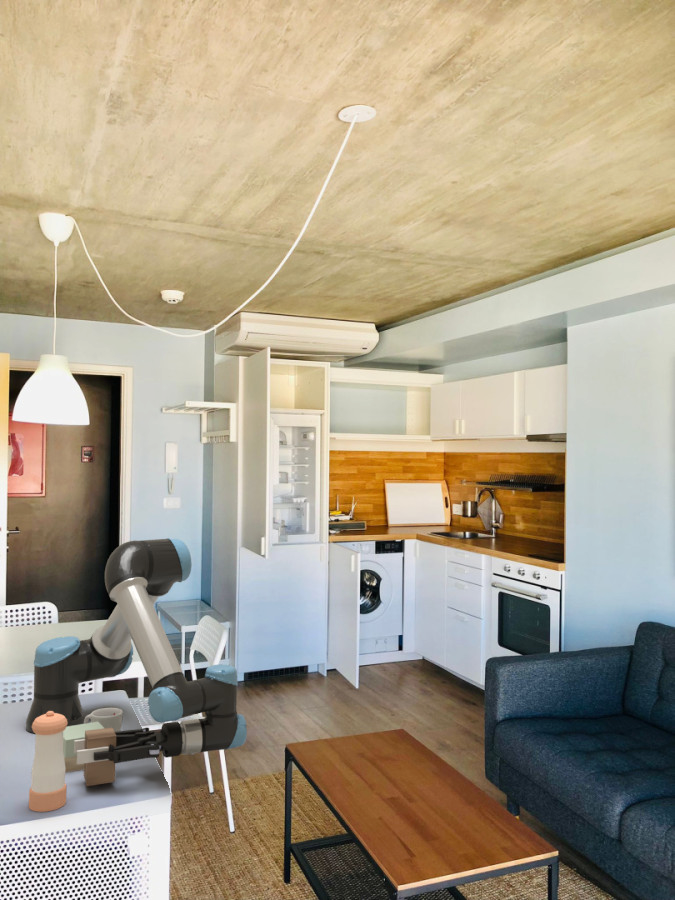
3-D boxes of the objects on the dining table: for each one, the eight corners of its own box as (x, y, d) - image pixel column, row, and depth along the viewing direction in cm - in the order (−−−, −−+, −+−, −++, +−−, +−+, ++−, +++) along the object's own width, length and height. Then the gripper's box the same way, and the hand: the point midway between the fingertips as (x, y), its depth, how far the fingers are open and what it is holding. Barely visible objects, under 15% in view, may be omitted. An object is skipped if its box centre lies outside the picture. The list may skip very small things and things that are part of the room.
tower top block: (55, 745, 180) (56, 728, 180) (97, 737, 185) (98, 721, 185) (65, 757, 171) (65, 740, 171) (108, 749, 176) (109, 732, 177)
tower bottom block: (58, 760, 180) (58, 743, 180) (100, 754, 184) (101, 738, 185) (62, 774, 171) (62, 757, 171) (106, 768, 175) (107, 751, 176)
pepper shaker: (35, 797, 158) (38, 706, 159) (70, 796, 158) (72, 706, 159) (23, 812, 150) (26, 717, 151) (60, 811, 151) (62, 716, 152)
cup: (74, 745, 190) (75, 713, 190) (94, 735, 197) (95, 704, 197) (109, 750, 186) (109, 718, 186) (128, 740, 193) (129, 709, 194)
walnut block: (83, 775, 166) (84, 730, 166) (111, 771, 168) (112, 727, 169) (86, 786, 160) (87, 739, 161) (115, 781, 163) (116, 735, 163)
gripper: (189, 769, 163) (79, 785, 154) (171, 741, 181) (71, 754, 171) (190, 734, 164) (80, 749, 154) (171, 710, 181) (72, 721, 171)
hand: (75, 752), depth 163 cm, fingers closed on walnut block, 6 cm apart
